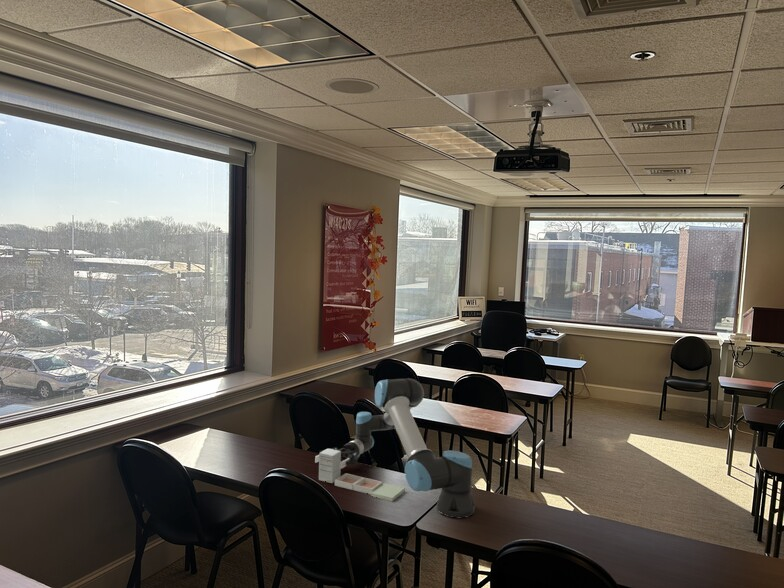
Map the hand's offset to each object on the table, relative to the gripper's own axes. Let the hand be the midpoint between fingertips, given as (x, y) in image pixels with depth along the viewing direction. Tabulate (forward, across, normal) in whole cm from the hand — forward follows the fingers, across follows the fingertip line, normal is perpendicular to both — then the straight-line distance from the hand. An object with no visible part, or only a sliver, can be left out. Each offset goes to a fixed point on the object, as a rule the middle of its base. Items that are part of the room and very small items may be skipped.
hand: (328, 462), depth 249 cm
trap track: (-1, -21, -8) cm, 22 cm away
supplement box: (-1, 0, -8) cm, 8 cm away
